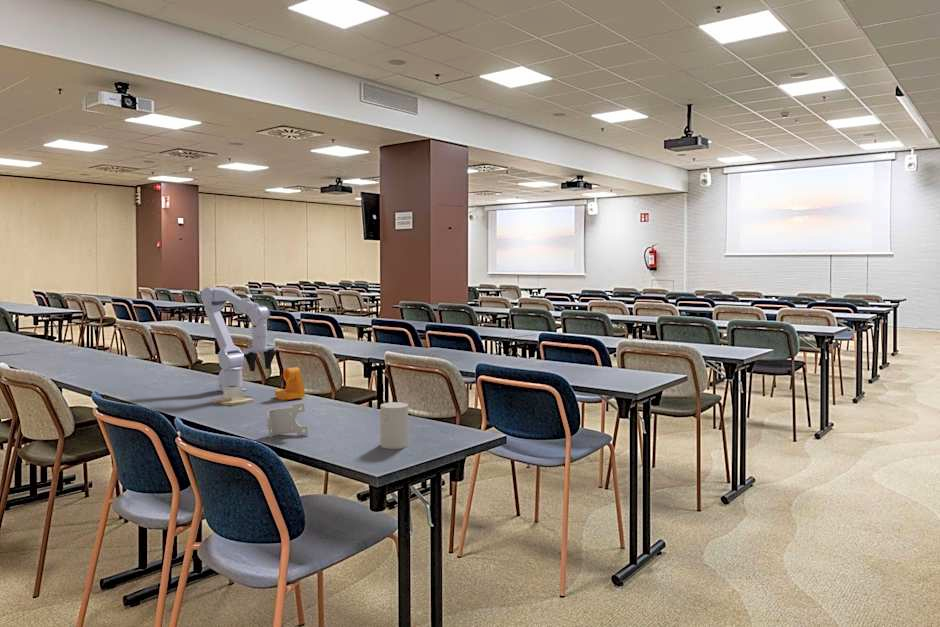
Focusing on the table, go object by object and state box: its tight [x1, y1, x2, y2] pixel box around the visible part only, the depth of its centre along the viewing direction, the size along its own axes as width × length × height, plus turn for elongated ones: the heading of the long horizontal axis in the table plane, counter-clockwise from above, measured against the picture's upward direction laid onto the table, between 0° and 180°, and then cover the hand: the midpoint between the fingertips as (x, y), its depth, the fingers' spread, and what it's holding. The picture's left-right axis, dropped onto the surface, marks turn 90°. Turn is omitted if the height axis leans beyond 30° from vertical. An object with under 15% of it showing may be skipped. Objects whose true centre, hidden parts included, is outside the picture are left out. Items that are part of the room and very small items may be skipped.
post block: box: [211, 386, 255, 407], centre depth 267 cm, size 12×10×6 cm
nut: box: [222, 385, 244, 401], centre depth 266 cm, size 5×5×5 cm
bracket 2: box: [265, 402, 310, 438], centre depth 216 cm, size 11×4×10 cm, turn 82°
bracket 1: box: [274, 366, 306, 401], centre depth 275 cm, size 11×7×12 cm
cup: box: [379, 401, 409, 450], centre depth 207 cm, size 8×8×12 cm
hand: (260, 369), depth 281 cm, fingers open, 7 cm apart
